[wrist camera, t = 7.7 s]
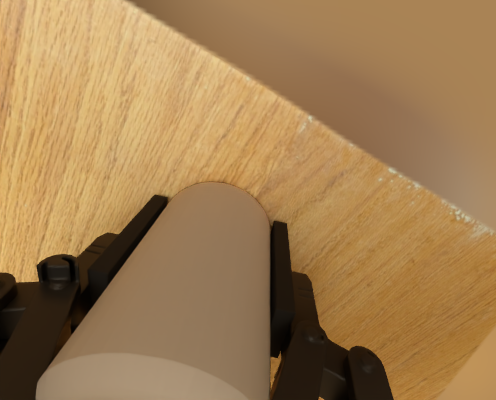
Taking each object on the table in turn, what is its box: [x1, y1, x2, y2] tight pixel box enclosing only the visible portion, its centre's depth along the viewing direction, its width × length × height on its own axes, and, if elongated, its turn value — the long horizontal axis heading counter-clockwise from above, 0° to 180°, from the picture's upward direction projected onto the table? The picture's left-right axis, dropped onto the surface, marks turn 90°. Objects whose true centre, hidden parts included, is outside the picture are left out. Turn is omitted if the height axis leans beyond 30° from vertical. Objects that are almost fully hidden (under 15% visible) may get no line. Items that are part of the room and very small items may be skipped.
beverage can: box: [36, 182, 270, 400], centre depth 12 cm, size 6×6×12 cm
